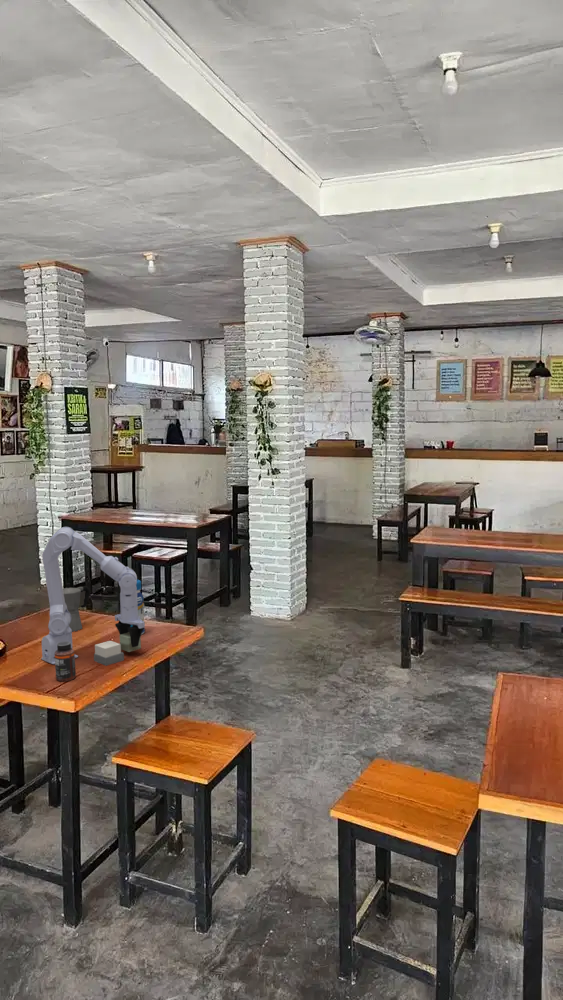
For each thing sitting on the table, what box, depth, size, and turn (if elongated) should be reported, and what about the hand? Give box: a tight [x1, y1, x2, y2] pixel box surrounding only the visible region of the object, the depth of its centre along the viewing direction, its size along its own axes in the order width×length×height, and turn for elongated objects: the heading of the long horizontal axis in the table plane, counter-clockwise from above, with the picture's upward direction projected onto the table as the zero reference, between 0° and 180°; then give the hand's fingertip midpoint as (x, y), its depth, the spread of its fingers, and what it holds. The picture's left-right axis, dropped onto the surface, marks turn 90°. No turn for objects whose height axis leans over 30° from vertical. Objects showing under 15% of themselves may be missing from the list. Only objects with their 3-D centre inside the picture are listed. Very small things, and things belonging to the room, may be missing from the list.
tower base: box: [93, 651, 125, 667], centre depth 234 cm, size 7×7×3 cm
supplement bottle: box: [54, 642, 77, 682], centre depth 218 cm, size 6×6×11 cm
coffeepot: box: [63, 582, 91, 633], centre depth 270 cm, size 15×9×18 cm, turn 133°
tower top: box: [94, 640, 122, 658], centre depth 234 cm, size 6×6×3 cm
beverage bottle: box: [130, 579, 146, 636], centre depth 262 cm, size 8×8×20 cm
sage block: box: [119, 632, 142, 653], centre depth 240 cm, size 5×5×5 cm
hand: (130, 644), depth 241 cm, fingers closed on sage block, 5 cm apart
